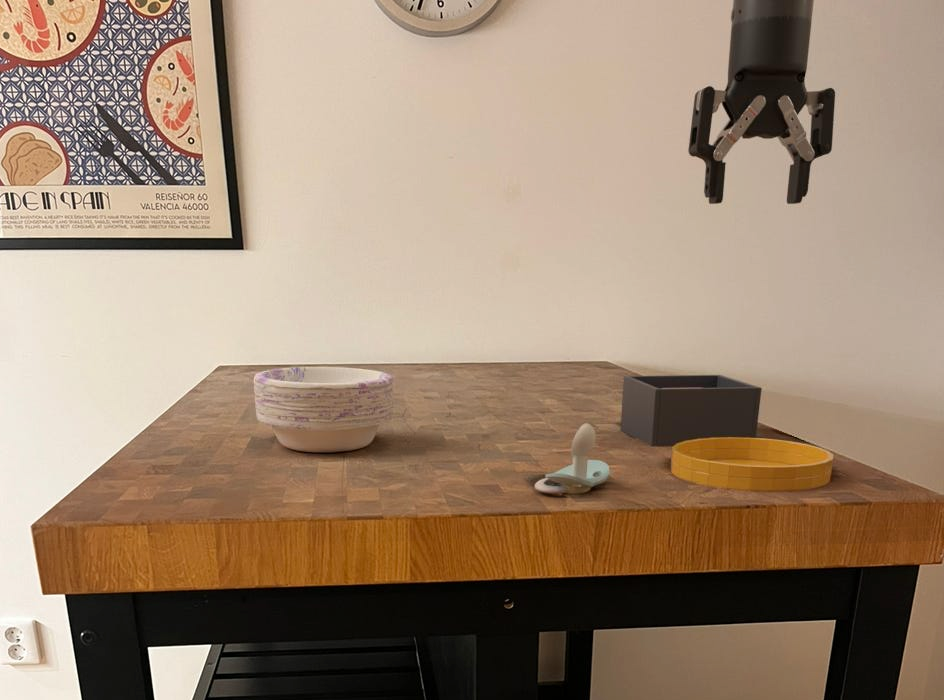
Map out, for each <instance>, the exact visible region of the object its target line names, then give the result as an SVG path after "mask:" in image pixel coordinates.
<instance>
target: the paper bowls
mask: <svg viewBox="0 0 944 700" xmlns="http://www.w3.org/2000/svg"><path fill="white" fill-rule="evenodd" d="M393 383H394V379H393V376H392V375H390V374H389V373H386V372H383V371H379V370H373V369H367V368H357V367H356V368H354V367H341V366H299V367H298V366H296V367H284V368H275V369H268V370H265V371H264V370H263V371H260V372H258V373H256V374H255V375H254V376H253V391H254V392H253V393H254V403H255V404H254V405H255V416H256V419H257V421H258V422H259V423H261V424H265V425H267V426H270V427H271V428H272V430H273V432H274V434H275V436H276V438H277V440H278V442H279V444H281V445H282V446H283V447H286V448H287V449H290V450H294V451H298V452H306V453H342V452H351V451H355V450H359V449H362V448H366V447H367V446H368V445H370V444H371V443H372V442H373V441H374V439H375V436H376V434H377V432H378V429H379V426H380V425H381V424H385V423H389V422H390V421H391V420H392V419H393V417H394V416H393V414H394V388H393V387H394V385H393Z"/></svg>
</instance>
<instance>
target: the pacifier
mask: <svg viewBox="0 0 944 700" xmlns="http://www.w3.org/2000/svg"><path fill="white" fill-rule="evenodd" d="M571 444H572V445H571V448H570V456H571V458H572V464H569V465H567V466H565V467H563V468H561V469H559V470H556V471H555V472H552V473H545V474H544V475H545V477H544V478H541V479H540V480H538V481H537V482H536V483H534V488H535V490H536V491H538V492H540V493H544V494H562V495H564V494H570V495H571V494H572V495H573V494H575V495H576V494H583V493H586V492H589V491H591V489H592V488H593V487H594V486H598V485H600V484H603V483H604V482H606V481H607V480H608V478H609V476H610V472H611V471H610V466H609V465H608V464H607V462H605V461H603V460H599V459H589V454H590V453H591V452H592V450H593V449H594V446H595V444H596V431H595V429H594V427H593V426H592V425H591V424H590V423H587V422H586V423H583V424H582V425H580V426H579V428H578V429H577V431H576V433H575V435H574V438H573V440H572V443H571ZM588 459H589V460H588ZM554 484H559V485H556V486H555V485H554Z"/></svg>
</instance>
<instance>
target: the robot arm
mask: <svg viewBox="0 0 944 700" xmlns="http://www.w3.org/2000/svg"><path fill="white" fill-rule="evenodd" d="M814 1H815V0H733V2H732V9H731V13H730V21H731V25H730V26H731V27H730V38H729V39H730V40H729V51H728V52H729V54H728V66H727V84H726V87H725V89H724V90H722V89H715V88H714V87H713V86H711V85H708V86H706V87H704V88H702V89H700V90H698V91H697V92H695V94H694V101H693V109H692V117H691V124H690V125H691V126H690V135H689V141H688V151H687V152H688V154H689V156H691V157H693V158H694V157H695V158H698V159H700V160H702V161H703V162H704V163H705V171H704V172H705V173H704V187H703V193H704V197H705V198H706V199H707V198H708V203H709V204H710V205H717V204H722V203H723V200H724V191H725V190H724V189H725V178H726V177H725V176H726V165H727V162H725V161H724V159H725V158H726V156H727V154H729V152H730V150H731V149H732V148H733V146H734V145H735V144H736V143H738V142H739V140H740V139H741V138H742V140H743V139H745V140H746V139H747V140H749V139H754V138H757V137H758V138H761V139H766V140H768V139H769V140H770V139H772V140H773V139H774V138H778V141H779V142H780V144H781V145H782V146H783V147H785V149H786V151H787V152H788V155H789V156H790V157H791V160H792V162H793V164H789V173H788V184H787V191H786V192H787V193H786V203H787V204H788V205H796V204H801V203H802V201H803V198H806V196H807V194H808V191H809V184H810V176H811V175H810V173H811V167H812V166H811V165H812V162H813V161H814V160H816V159H817V158H820V157H823V156H825V155H829V154H830V153H831V152H832V149H833V138H834V137H833V135H834V120H835V105H836V104H835V103H836V91H835V89H834V88H833V87H828V88H825V89H821V90H813V91H808V90H807V88H806V83H805V81H806V80H805V78H806V74H807V69H808V61H809V60H808V59H809V51H810V43H811V41H810V40H811V32H812V31H811V30H812V22H813V21H812V20H813V11H814ZM720 105H721V106H722V107H723V109H724V111H725V113H726V115H727V117H728V120H727V122H726V124H725V125H724V126H723V128H721V130H720V131H719V133H718V135H716V139H715V140H714V142H713V143H712V144H710V137H711V129H712V121H713V115H714V114H715V113H717V111H718V110H719V107H720ZM805 106H806V107H807V112H808V114H809V115H810V117H811V120H810V138H809V139H808V138H807V130H806V129H805V126H804V125H803V123H802V121H801V119H800V118H799V114H800V113H801V111H802V110H803V108H804V107H805ZM723 161H724V162H723Z"/></svg>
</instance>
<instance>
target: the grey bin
mask: <svg viewBox="0 0 944 700" xmlns="http://www.w3.org/2000/svg"><path fill="white" fill-rule="evenodd" d="M662 388H665V389H662ZM761 397H762V387H761V386H758V385H755V384H752V383H751V384H750V383H748V382H744V381H741V380H738V379H735V378H731V377H729V376H725V375H721V374H684V375H683V374H677V375H673V374H672V375H669V374H668V375H624V376H623V384H622V400H621V416H620V431H621V432H623V433H624V434H626V435H627V436H629V437H631V438H632V439H635V440H636V439H638V440H639V441H641V442H643V443H644V444H646V445H648V446H650V447H651V448H652V447H656V448H657V447H673V446H674V445H675V444H677V443H680V442H683V441H687V440H693V439H701V438H714V437H746V438H757V431H758V422H759V415H760V407H761V406H760V405H761V399H762V398H761Z"/></svg>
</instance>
